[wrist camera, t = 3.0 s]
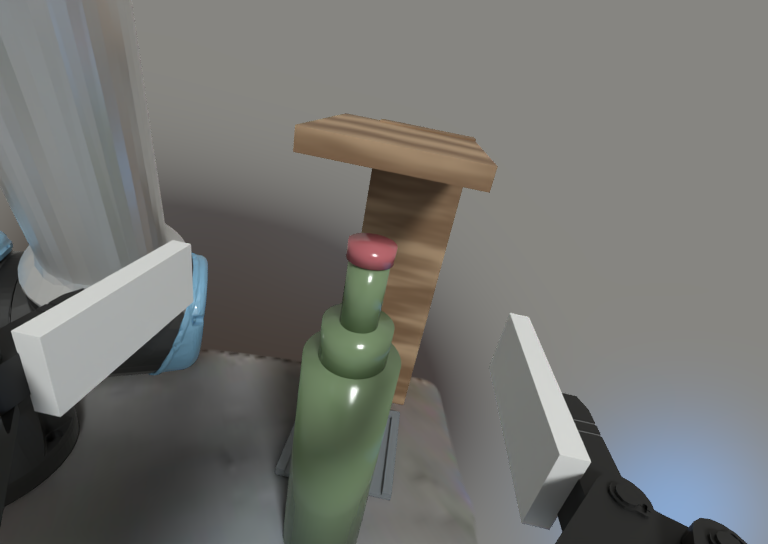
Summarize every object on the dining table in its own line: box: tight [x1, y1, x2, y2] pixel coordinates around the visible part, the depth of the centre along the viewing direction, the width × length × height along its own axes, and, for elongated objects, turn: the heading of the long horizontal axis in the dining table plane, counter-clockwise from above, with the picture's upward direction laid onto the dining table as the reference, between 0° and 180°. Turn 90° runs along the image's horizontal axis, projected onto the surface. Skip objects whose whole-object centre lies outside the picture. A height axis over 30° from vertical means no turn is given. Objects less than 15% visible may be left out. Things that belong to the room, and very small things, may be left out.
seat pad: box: [275, 410, 400, 500], centre depth 48 cm, size 12×13×1 cm
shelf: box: [293, 114, 497, 405], centre depth 42 cm, size 17×14×37 cm
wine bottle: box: [283, 233, 401, 544], centre depth 31 cm, size 7×7×31 cm
